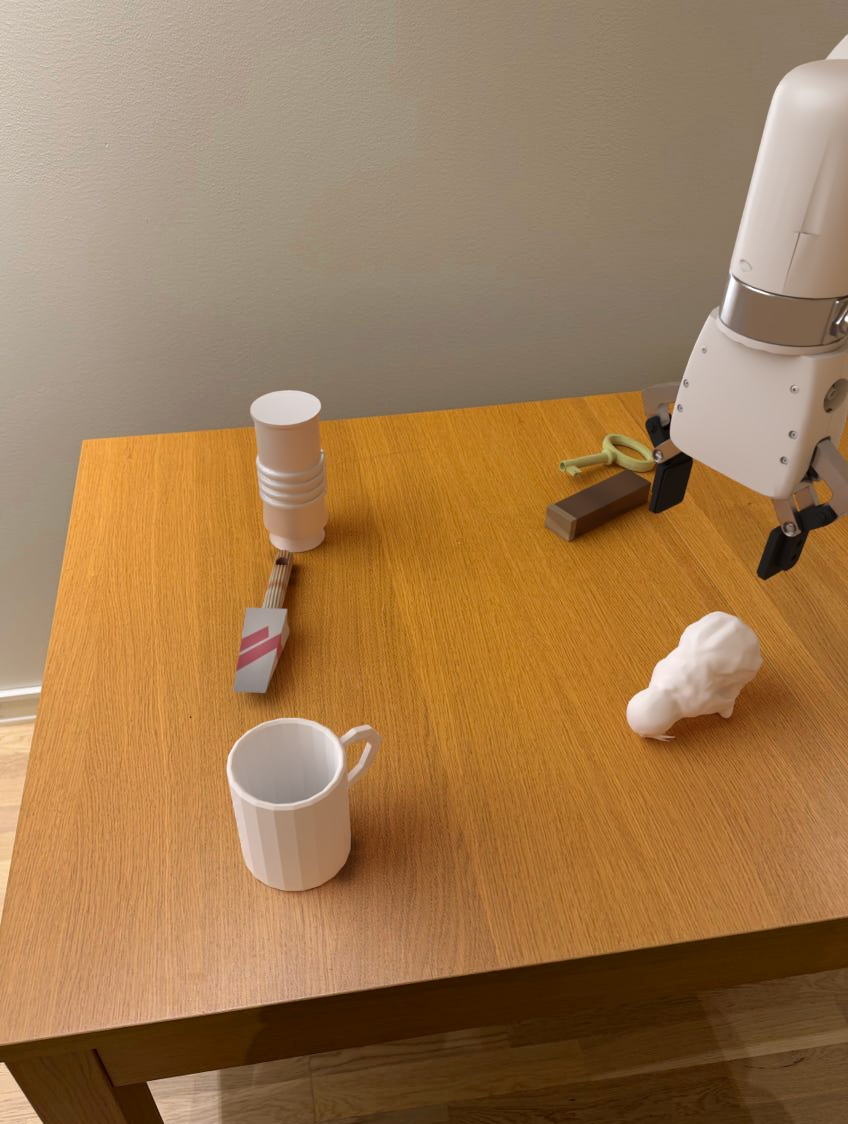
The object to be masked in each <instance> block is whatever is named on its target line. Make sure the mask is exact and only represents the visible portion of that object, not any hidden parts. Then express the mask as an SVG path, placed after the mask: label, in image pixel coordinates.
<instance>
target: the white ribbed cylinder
mask: <svg viewBox="0 0 848 1124" xmlns="http://www.w3.org/2000/svg"><path fill="white" fill-rule="evenodd" d="M249 408H250V409H249V411H250V412H249V413H250V417H251V418H252V420H253V422H254V423H253V424H254V431H255V440H256V448H257V449H256V450H257V455H256V457H255V467H256V476H257V479H258V481H257V484H258V488H259V498H260V499H261V501H262V513H263V516H262V517H263V526H264V527H265V529H266V530H267V531H268V532H269V541H270V544H271V545H272V546H273V547H274V548H276V549H277V550H279V551H281V550H286V551H287V550H288V551H289V552H291V553H302V552H308V551H310V550H313V549H315V548H317V547H318V546H321V544H322V542H324V540H325V539H326V538H325V537H326V531H325V529H324V527H326V526H327V524H328V521H329V513H328V509H327V507H328V506H327V501H326V495H327V493H328V490H327V489H328V480H327V479H328V478H327V463H326V453H325V451H324V449H323V448H322V444H321V431H320V430H321V429H320V428H321V427H320V415H321V413H322V404H321V401H320V399H318V397H316V395H313V394H311V393H308V392H306V391H301V390H294V389H293V390H291V389H288V390H277V391H272V392H269V393H266V394H263V395H261V396H260V397H258V398H256V399H255V400H254V401H253V402H252V404H251V405H250V407H249Z"/></svg>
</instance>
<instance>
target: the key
mask: <svg viewBox="0 0 848 1124" xmlns="http://www.w3.org/2000/svg"><path fill="white" fill-rule="evenodd" d="M615 445H620V446H624V447H627V448H630V449H633V450H635V451H636V452H638V453H639V454H640V455H642V456H643V457H644V460H642V459H636V458H634V457H631V456H629V455H627V454H625V453H624V452H622V451H621V450H619V449H618V448H616V447H615ZM652 451H653V450H651V449H650V448H648V446H646V445H644V444H643V443H641V442H640V441H638V440H636V439H635V438H632V437H629V436H628V435H624V434H620V433H610V434H607V435H605V437H604V439H603V440H602V450H601V451H600V452H599V453H594V454H593V453H592V454H589V455H585V456H580V457H575V458H569V459H566V460H562V461H559V464H558V467H559V471H560V472H562V473H563V472H567V473H569V474H570V476H572V477H576V476H582V474H583V471H582V470H581V468H582V469H583V468H586V467H591V466H597V465H601V464H603V465H604V466H611V465H612V464H613V462H614V463H616V464H617V465H619V466H621V467H622V468H625V469H629V470H631V471H632V472H639V473H645V472H650V471H652V470H653V469H654V467H655V465H657V463H656V462H655V461H654V460H653V458H652Z"/></svg>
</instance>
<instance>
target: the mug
mask: <svg viewBox="0 0 848 1124" xmlns="http://www.w3.org/2000/svg"><path fill="white" fill-rule="evenodd" d="M383 739H384V737H383V736H382V735H381V734H380V733H379V732H377V730H375V729H374V728H373V727H372V726H370V725H369V723H368V724H364V725H359V726H356V727H352V728H351V729H349V730H348V731H347V732H345V733H344V734H343V735H342V736H340V738H339V736H337V734H336V733H334V731H333V730H332V729H331V728H330V727H327V726H326V725H323V724H322V723H320V722H318V721H316V720H310V719H306V718H302V717H280V718H276V719H272V720H267V721H264V722H262V723H260V724H258V725H256V726H254V727H252V728H251V729H248V730H247V731H246V732H245V733H244V734H243V735H242V736H241V737H240V738H239V739H237V740H236V741H235V743H234V745H233V747H232V748H231V750H230V751H229V754H228V756H227V761H226V770H225V771H226V775H227V781H228V787H229V792H230V796H231V802H232V806H233V812H234V817H235V822H236V828H237V832H238V838H239V842H240V847H241V852H242V856H243V859H244V860H243V861H244V865H245V866H246V867H247V869H248V870H249V871H250V873H251V874H252V876H253V877H254V878H255V879H257V880H258V881H260V882H262V884H264V885H266V886H267V887H269V888H272V889H276V890H281V891H283V892H304V891H307V890H310V889H313V888H317V887H320V886H322V885H324V884H325V883H327V882H328V881H330V880H331V879H332V878H334V877H335V876H336V875H337V874H338V873H339V872H340V870H341V869H342V868H343V867H344V866H345V864H346V862H347V860H348V858H349V855H350V852H351V847H352V846H351V845H352V840H351V839H352V834H351V833H352V832H351V816H350V815H351V814H350V795H349V790H350V789H351V788H353V787H354V786H355V785H356V784H357V783H358V782H359V780H360V779H362V778H363V776H364V775H365V774H366V773H367V772H368V771H369V770H370V769H371V768H372V765H373V763H374V761H375V758H376V756H377V753H378V751H379V749H380V746H381V744H382V741H383ZM363 741H366V744H365V747H364V750H363V752H362V754H361V756H360V759H359V761H358V762H357V763H356V765H355V766H354V767H353V768H352V769H351V770H350V771H349V772H348V764H347V763H348V760H347V759H348V758H347V751H346V749H347V748H349V747H350V746H351V745H353V744H357V743H359V742H363Z"/></svg>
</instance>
